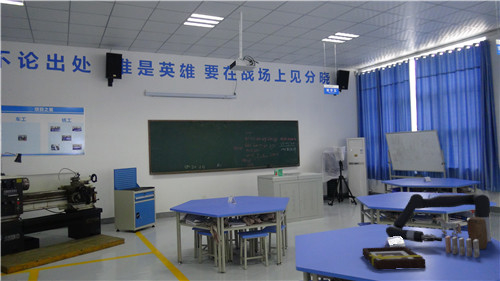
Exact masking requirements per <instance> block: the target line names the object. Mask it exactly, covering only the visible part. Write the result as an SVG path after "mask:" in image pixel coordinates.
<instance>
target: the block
mask: <svg viewBox="0 0 500 281" xmlns="http://www.w3.org/2000/svg"><path fill="white" fill-rule="evenodd" d="M466 226H467V228H466V229H467V234H468V238H469V239H471V244H472V248H473V241H474V240H475V239H477V240H478V241H479V250H485V249H487V245H488V243H489V242H487V241H488V240H487V228H486V221H485V219H483V218H480V217H474V216H472V217H470V218H468V220H467V223H466ZM468 238H467V239H468Z"/></svg>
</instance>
